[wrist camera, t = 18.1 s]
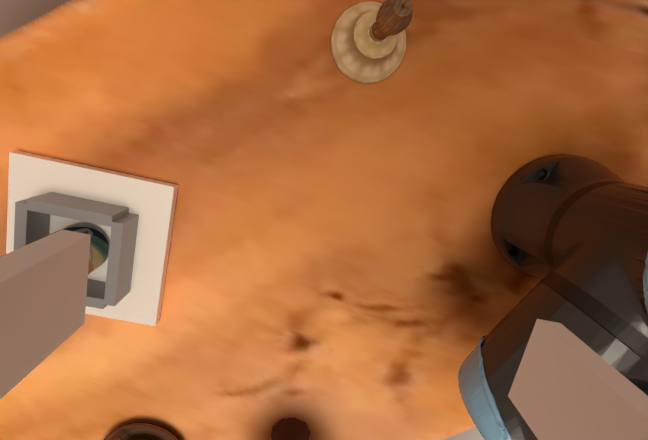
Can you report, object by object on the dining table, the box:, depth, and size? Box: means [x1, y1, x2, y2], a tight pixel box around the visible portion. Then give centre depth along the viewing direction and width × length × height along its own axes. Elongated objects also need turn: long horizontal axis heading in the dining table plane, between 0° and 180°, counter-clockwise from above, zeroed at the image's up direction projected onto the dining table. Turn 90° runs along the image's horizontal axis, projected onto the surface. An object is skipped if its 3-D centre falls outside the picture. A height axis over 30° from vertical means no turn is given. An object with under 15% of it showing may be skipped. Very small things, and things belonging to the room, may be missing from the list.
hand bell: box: [331, 0, 413, 83], centre depth 36 cm, size 8×8×16 cm
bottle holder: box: [6, 151, 178, 326], centre depth 46 cm, size 18×18×6 cm
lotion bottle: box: [1, 222, 110, 274], centre depth 37 cm, size 6×6×20 cm
